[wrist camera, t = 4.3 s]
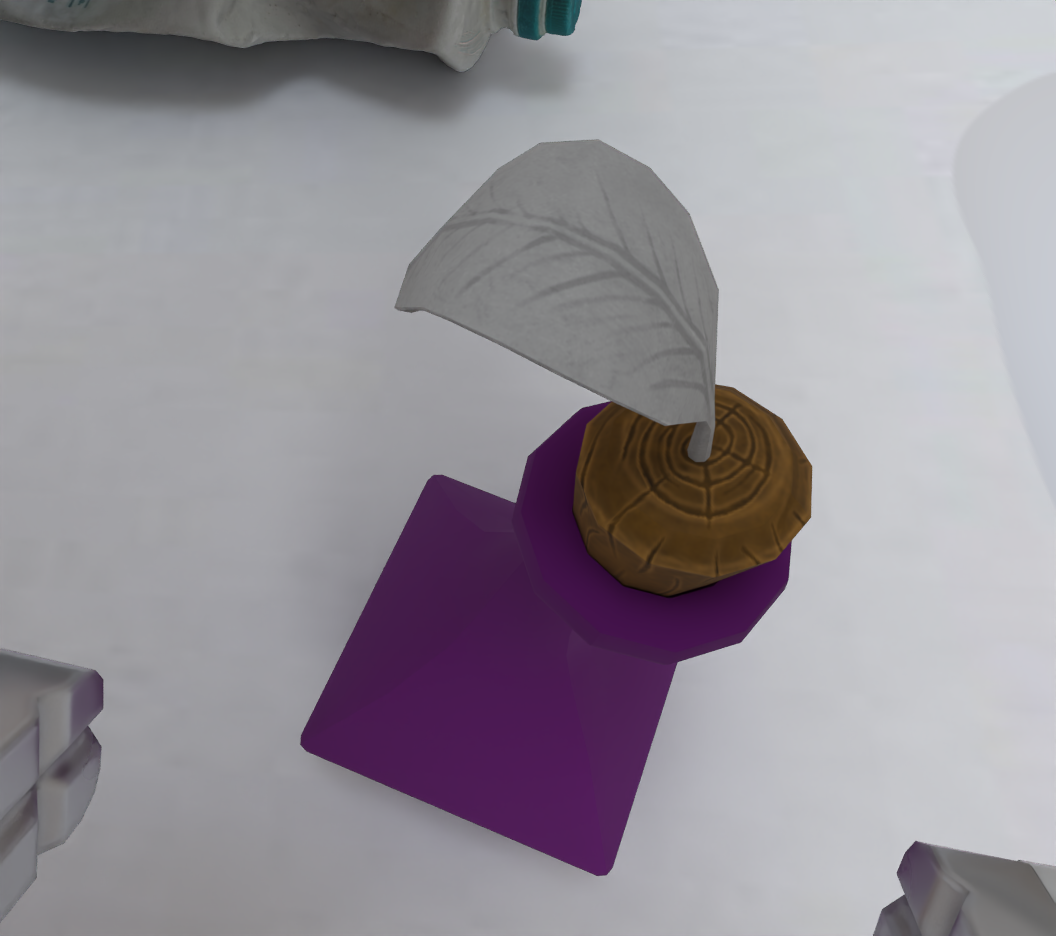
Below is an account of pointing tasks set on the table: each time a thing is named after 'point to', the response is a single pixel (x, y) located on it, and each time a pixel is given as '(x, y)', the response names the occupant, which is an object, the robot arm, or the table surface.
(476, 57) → the crushed plastic bottle
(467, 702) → the purple potion bottle
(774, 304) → the table surface
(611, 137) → the table surface
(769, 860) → the table surface
